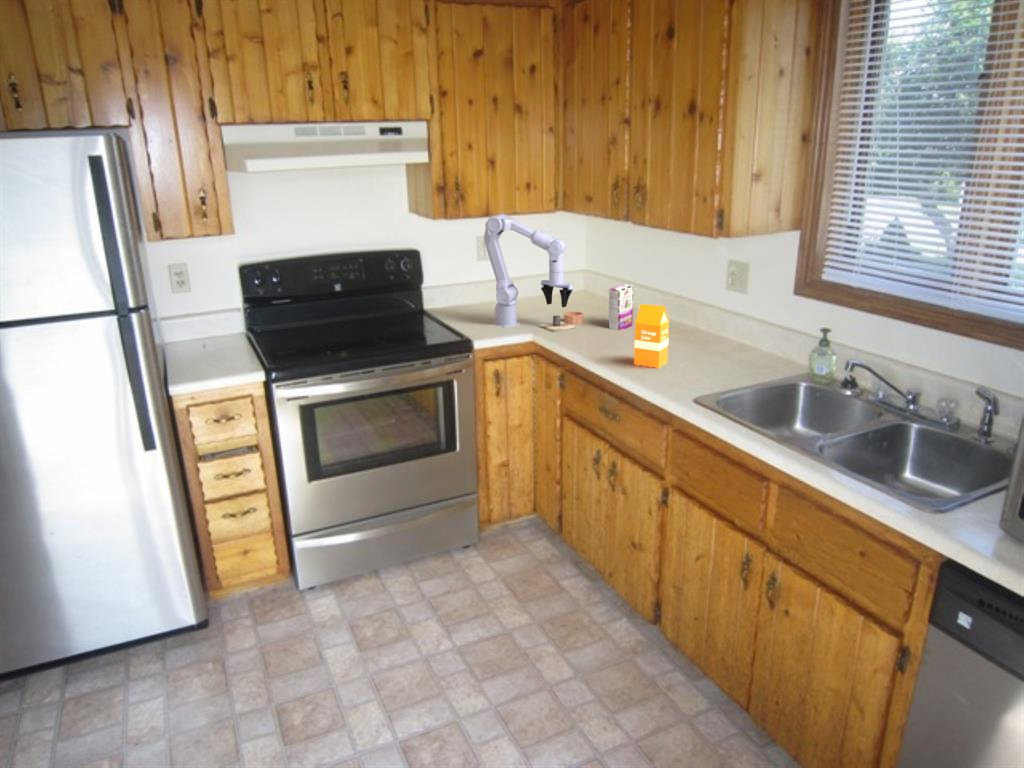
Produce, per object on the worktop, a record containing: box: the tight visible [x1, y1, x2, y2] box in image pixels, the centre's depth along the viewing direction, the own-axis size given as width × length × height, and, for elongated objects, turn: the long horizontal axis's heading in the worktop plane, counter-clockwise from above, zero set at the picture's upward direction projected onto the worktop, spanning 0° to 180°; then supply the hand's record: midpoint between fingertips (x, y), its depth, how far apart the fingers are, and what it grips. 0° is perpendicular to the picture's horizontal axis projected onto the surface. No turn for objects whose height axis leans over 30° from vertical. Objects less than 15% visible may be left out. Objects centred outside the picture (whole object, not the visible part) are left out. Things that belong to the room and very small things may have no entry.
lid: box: [538, 315, 575, 333], centre depth 294 cm, size 10×10×4 cm
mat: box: [538, 325, 576, 333], centre depth 295 cm, size 11×11×1 cm
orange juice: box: [633, 303, 670, 369], centre depth 245 cm, size 8×9×20 cm
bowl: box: [563, 310, 585, 325], centre depth 302 cm, size 8×8×4 cm
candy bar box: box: [608, 283, 634, 331], centre depth 291 cm, size 11×5×16 cm, turn 143°
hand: (556, 305), depth 292 cm, fingers open, 7 cm apart
